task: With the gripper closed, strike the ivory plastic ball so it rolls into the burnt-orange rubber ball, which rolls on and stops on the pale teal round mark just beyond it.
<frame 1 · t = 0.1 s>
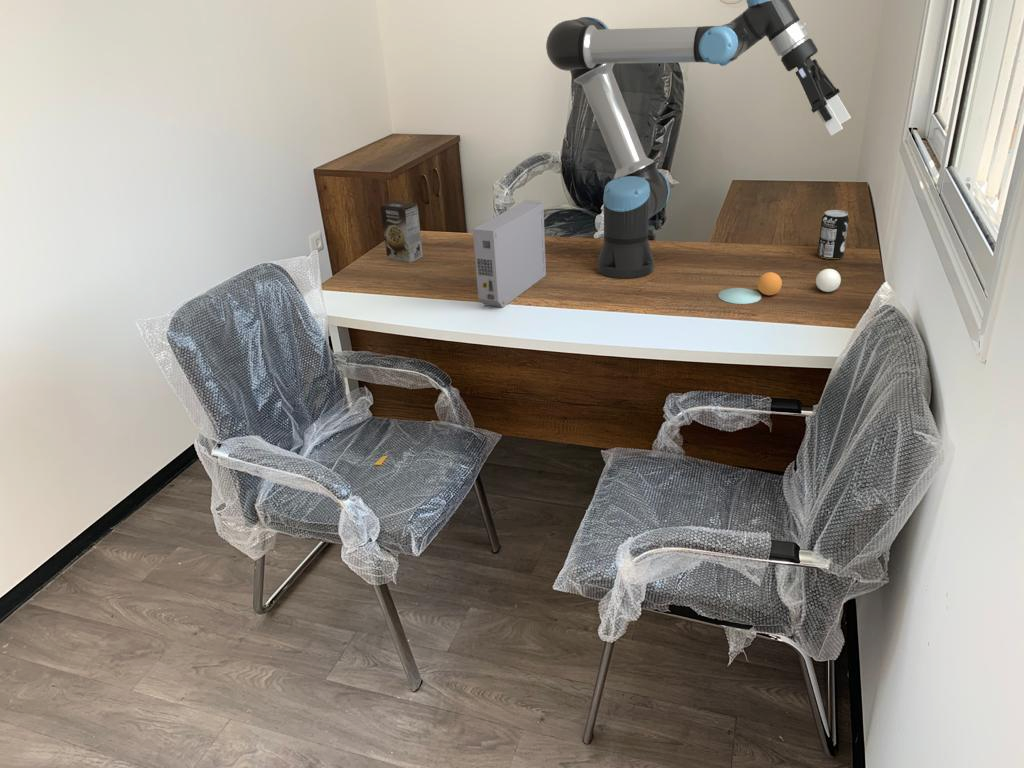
hand: (841, 126, 177), 36 cm above the table, tool tilted 35°, fingers open, 13 cm apart
object ball: (769, 283, 182), on the table
cue ball: (828, 280, 182), on the table
coffee box: (405, 258, 224), on the table
beverage can: (829, 257, 204), on the table
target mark: (739, 296, 183), on the table
game console: (515, 291, 196), on the table
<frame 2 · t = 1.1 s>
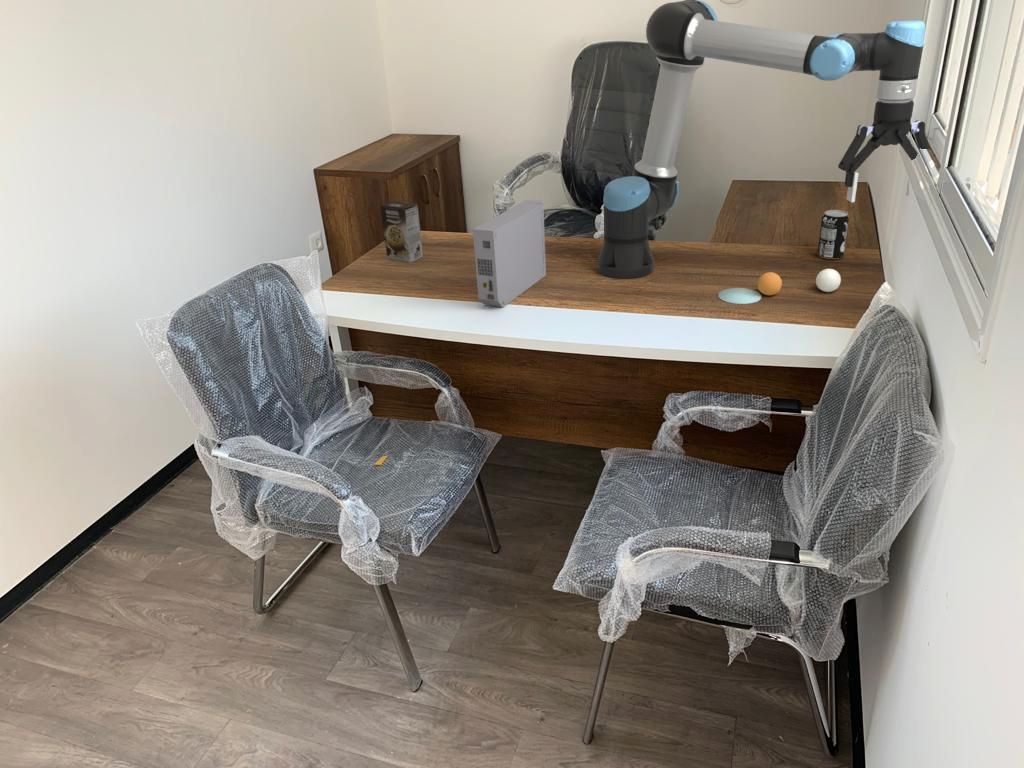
hand: (880, 198, 173), 22 cm above the table, tool pointing down, fingers open, 13 cm apart
nothing on the table moved.
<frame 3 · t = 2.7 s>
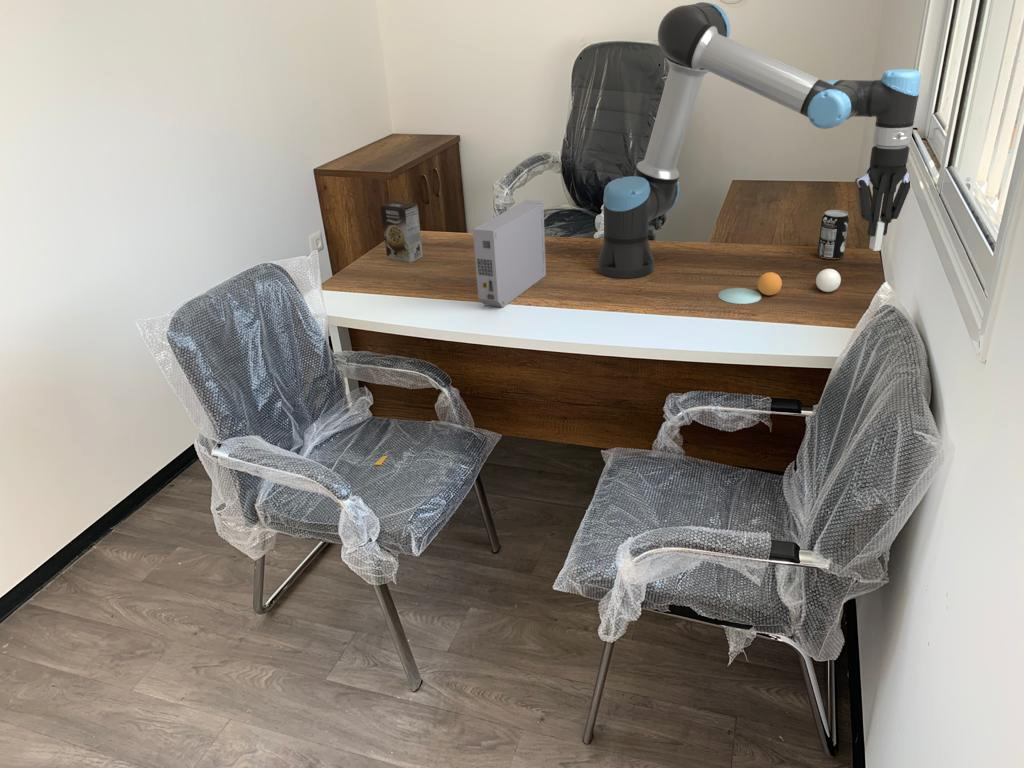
hand: (874, 248, 178), 10 cm above the table, tool pointing down, fingers closed
nothing on the table moved.
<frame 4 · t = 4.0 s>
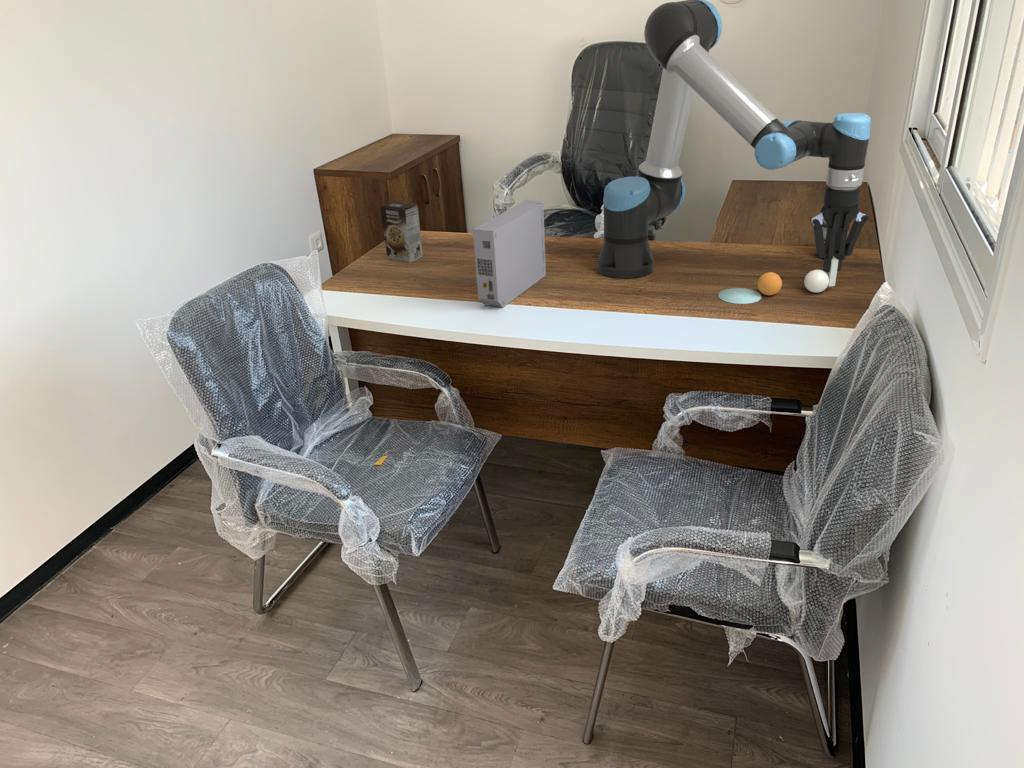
hand: (829, 284, 183), 2 cm above the table, tool pointing down, fingers closed
cue ball: (816, 281, 182), on the table, touching gripper
everything else where it was.
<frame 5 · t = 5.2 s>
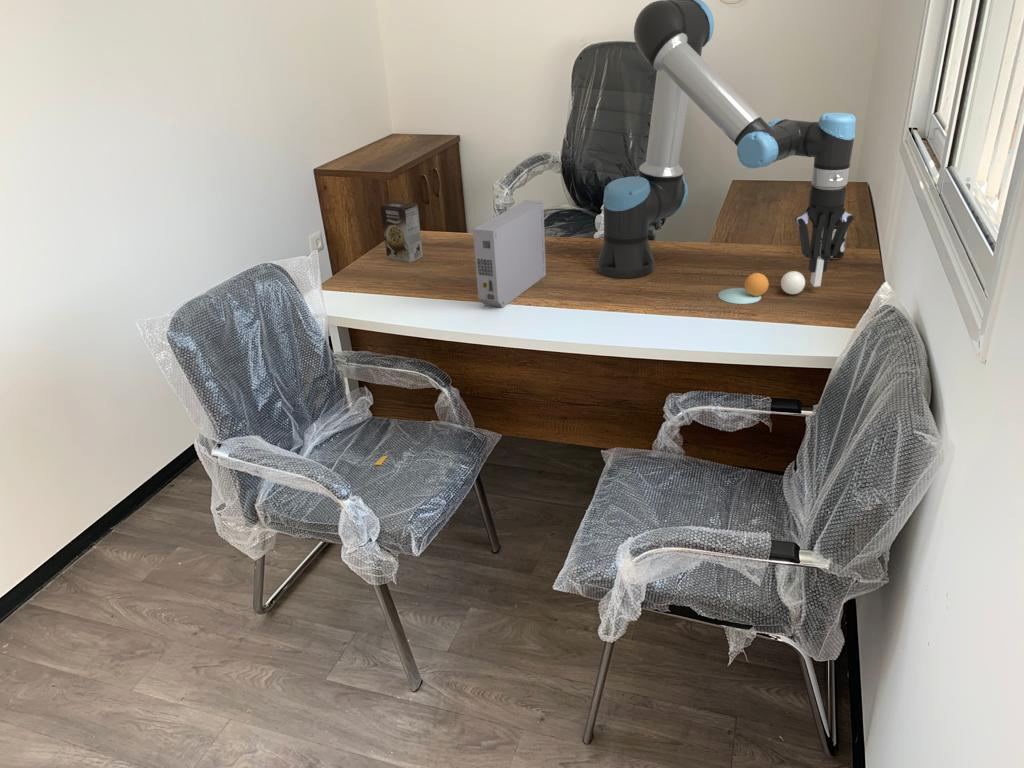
hand: (815, 284, 182), 2 cm above the table, tool pointing down, fingers closed
object ball: (756, 284, 182), on the table
cue ball: (792, 282, 182), on the table
everything else where it was.
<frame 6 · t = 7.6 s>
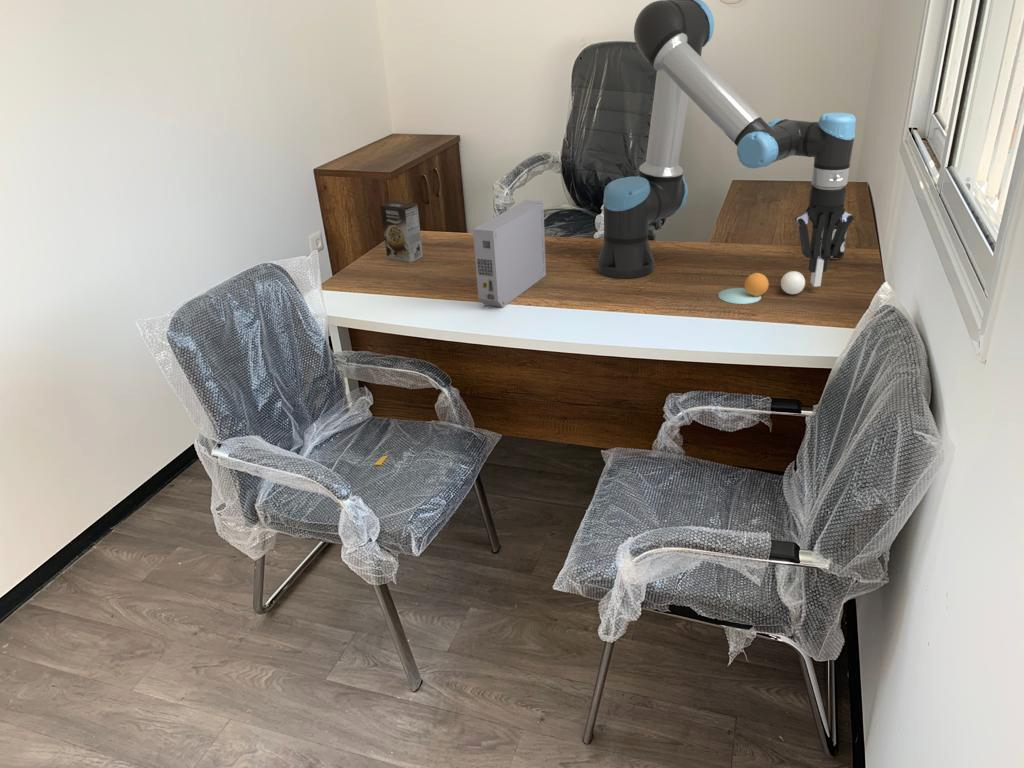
hand: (815, 284, 182), 2 cm above the table, tool pointing down, fingers closed
nothing on the table moved.
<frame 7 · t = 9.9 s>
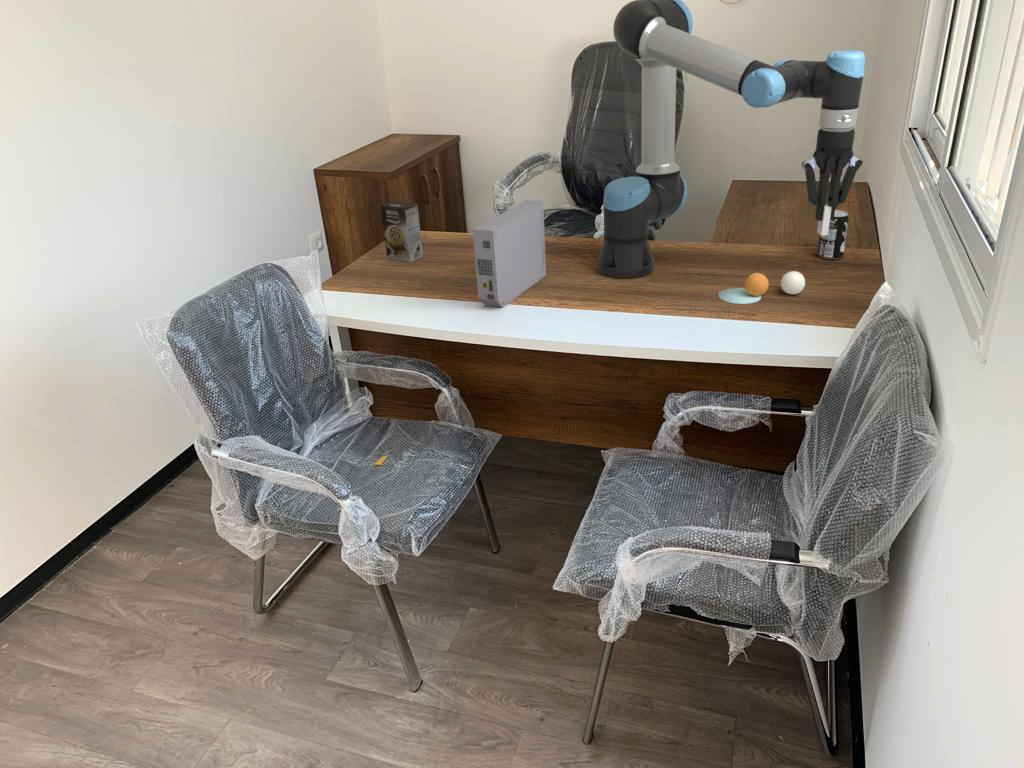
hand: (822, 233, 176), 14 cm above the table, tool pointing down, fingers closed
nothing on the table moved.
at the end: object ball 3.8 cm from the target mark (horizontally); object ball never touched the robot; cue ball first touched object ball at 4.3 s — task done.
